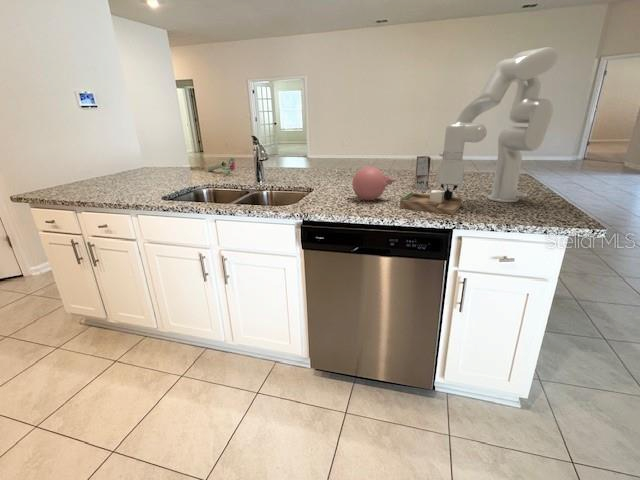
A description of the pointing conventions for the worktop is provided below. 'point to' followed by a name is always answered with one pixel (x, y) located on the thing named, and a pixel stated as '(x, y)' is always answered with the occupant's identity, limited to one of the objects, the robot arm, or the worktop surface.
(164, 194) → the worktop surface
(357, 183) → the balloon
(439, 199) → the block
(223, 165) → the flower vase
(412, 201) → the box
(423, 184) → the coffee box
